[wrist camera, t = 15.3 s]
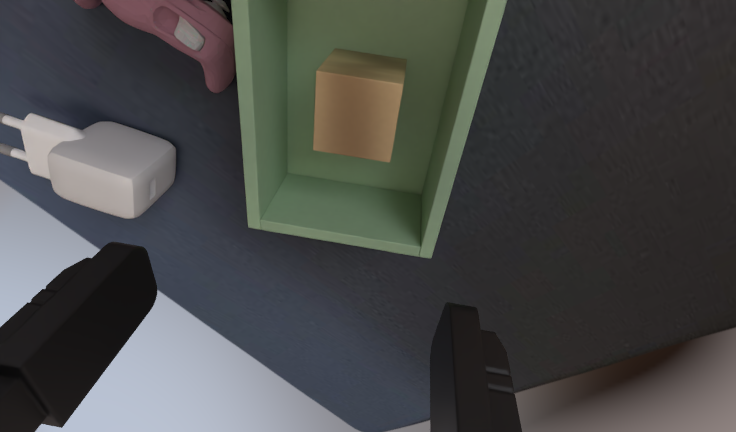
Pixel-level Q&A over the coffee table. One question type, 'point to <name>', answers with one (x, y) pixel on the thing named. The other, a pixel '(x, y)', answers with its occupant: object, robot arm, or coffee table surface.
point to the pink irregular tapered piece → (184, 31)
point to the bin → (414, 126)
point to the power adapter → (96, 162)
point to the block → (358, 104)
